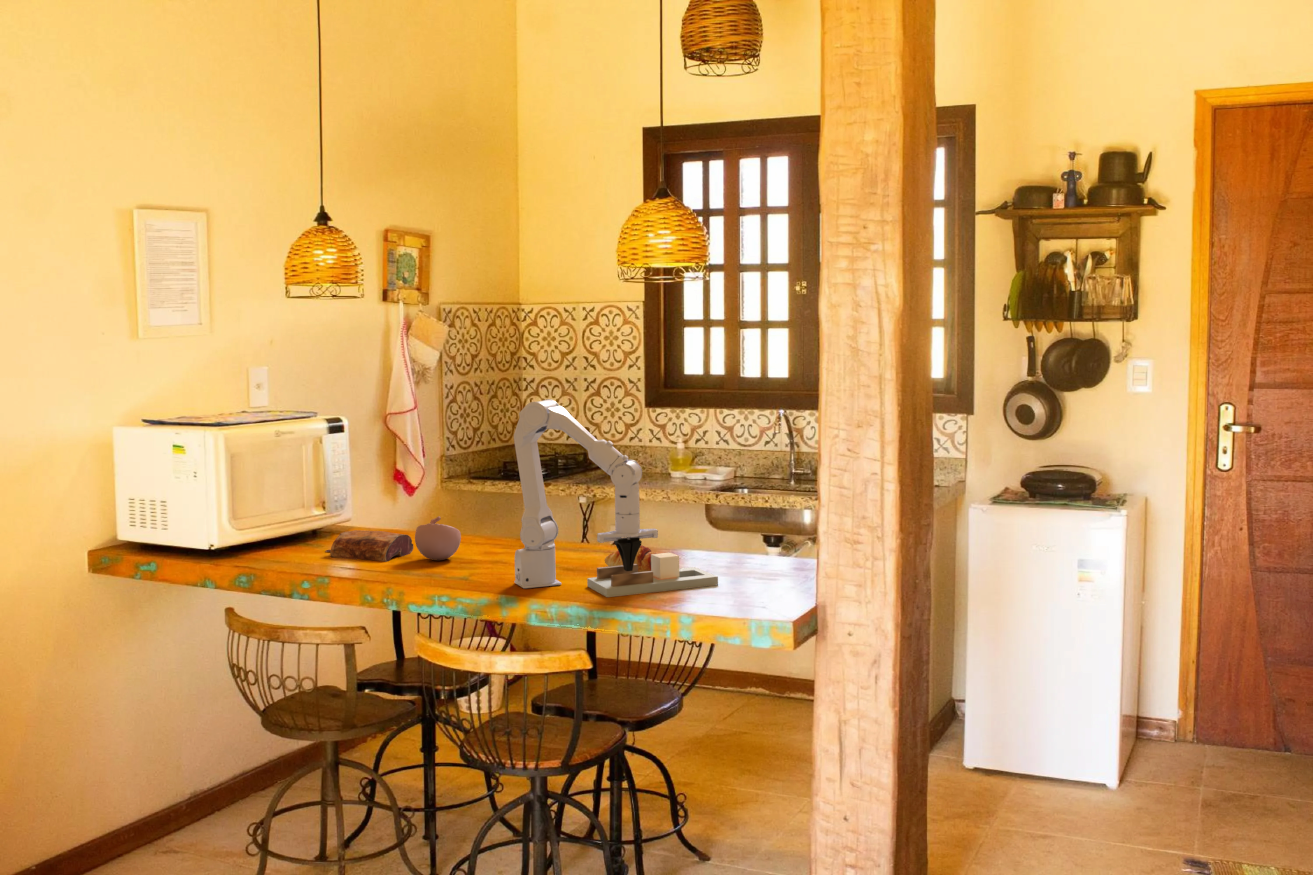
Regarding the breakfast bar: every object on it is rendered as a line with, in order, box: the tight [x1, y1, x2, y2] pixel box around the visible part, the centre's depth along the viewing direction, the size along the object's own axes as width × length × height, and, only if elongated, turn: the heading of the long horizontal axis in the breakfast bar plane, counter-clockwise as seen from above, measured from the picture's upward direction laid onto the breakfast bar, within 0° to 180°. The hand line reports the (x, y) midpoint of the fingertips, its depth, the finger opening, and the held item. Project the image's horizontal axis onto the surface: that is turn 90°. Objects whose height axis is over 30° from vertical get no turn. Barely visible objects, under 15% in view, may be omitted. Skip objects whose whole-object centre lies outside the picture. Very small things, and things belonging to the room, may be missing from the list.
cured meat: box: [324, 529, 414, 562], centre depth 351 cm, size 18×25×7 cm
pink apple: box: [414, 516, 462, 561], centre depth 339 cm, size 12×12×12 cm
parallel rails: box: [596, 564, 653, 587], centre depth 299 cm, size 10×11×2 cm
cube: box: [651, 552, 680, 579], centre depth 303 cm, size 5×5×5 cm
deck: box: [586, 566, 719, 598], centre depth 302 cm, size 28×13×2 cm, turn 113°
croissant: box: [604, 544, 658, 572], centre depth 320 cm, size 21×10×8 cm, turn 52°
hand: (628, 570), depth 299 cm, fingers closed
